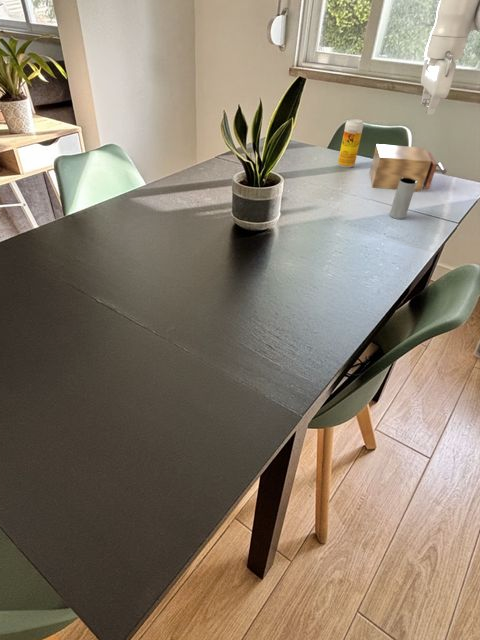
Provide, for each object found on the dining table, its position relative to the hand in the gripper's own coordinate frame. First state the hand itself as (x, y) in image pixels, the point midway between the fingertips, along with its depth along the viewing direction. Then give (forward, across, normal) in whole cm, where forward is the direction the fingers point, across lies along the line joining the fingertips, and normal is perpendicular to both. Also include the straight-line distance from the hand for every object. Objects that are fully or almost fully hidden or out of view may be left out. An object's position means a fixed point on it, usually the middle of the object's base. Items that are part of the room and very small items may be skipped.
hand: (426, 110), depth 118 cm
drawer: (+24, +16, -5) cm, 29 cm away
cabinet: (+25, +16, 0) cm, 30 cm away
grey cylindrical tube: (+25, -13, +2) cm, 29 cm away
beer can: (+25, +29, +16) cm, 42 cm away
